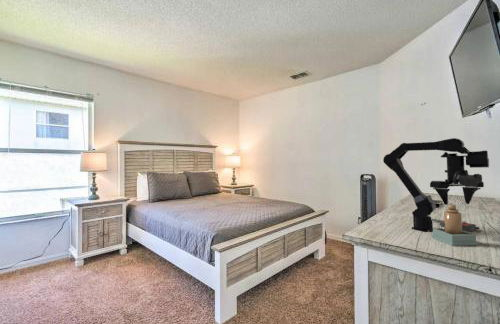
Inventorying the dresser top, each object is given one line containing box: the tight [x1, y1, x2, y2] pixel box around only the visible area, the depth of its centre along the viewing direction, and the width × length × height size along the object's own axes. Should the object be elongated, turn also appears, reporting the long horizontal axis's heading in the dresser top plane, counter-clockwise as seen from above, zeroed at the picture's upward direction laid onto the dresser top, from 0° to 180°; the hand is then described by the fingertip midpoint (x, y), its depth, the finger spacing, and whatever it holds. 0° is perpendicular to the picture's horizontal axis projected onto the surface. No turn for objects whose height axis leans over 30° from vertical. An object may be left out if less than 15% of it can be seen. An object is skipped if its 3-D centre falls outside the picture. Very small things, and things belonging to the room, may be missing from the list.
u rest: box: [431, 228, 480, 247], centre depth 96 cm, size 10×10×4 cm
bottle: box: [443, 204, 463, 235], centre depth 96 cm, size 5×5×13 cm
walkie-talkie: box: [431, 218, 480, 233], centre depth 117 cm, size 9×4×20 cm
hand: (456, 204), depth 104 cm, fingers open, 9 cm apart
